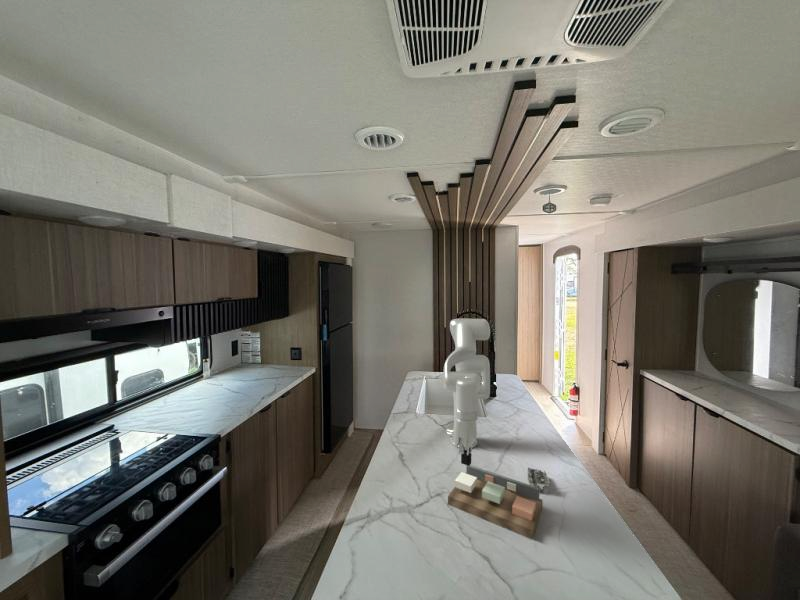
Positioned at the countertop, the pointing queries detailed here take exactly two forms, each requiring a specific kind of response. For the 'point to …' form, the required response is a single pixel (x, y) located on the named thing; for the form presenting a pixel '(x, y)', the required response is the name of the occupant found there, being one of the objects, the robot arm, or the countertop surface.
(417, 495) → the countertop surface
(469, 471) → the keypad
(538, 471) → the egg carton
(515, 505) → the key terracotta
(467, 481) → the key cream
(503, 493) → the key sage
